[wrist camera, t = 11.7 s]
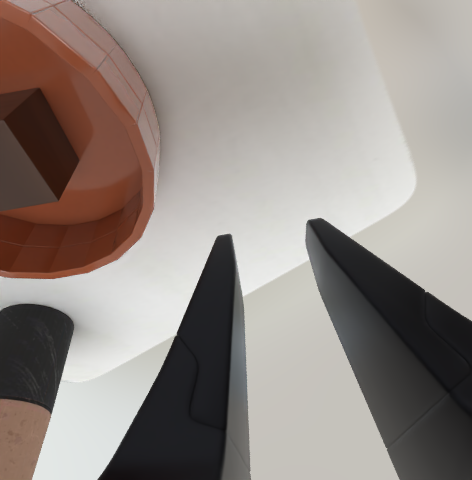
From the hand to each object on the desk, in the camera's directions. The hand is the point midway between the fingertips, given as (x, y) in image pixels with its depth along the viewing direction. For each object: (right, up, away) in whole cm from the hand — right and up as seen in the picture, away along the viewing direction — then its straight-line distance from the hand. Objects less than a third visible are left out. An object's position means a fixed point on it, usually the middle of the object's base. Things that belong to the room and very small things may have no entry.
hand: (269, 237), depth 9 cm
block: (-13, +6, +9) cm, 17 cm away
